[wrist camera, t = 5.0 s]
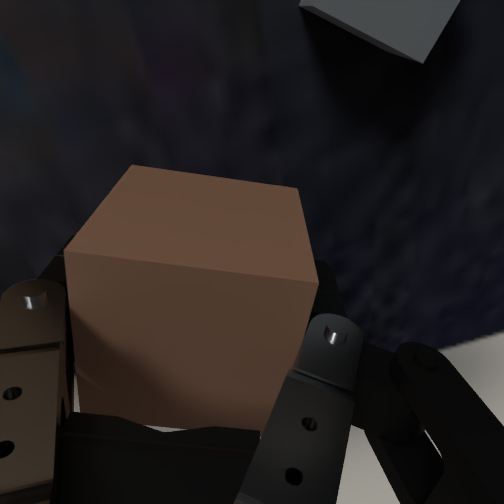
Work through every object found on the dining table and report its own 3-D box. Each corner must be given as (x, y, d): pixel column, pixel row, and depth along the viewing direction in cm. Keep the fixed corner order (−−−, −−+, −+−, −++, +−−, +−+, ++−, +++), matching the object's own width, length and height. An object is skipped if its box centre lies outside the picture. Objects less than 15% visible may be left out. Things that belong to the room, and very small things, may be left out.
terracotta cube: (297, 188, 12) (318, 283, 8) (270, 315, 15) (275, 438, 11) (131, 164, 12) (63, 250, 8) (132, 298, 15) (81, 418, 10)
